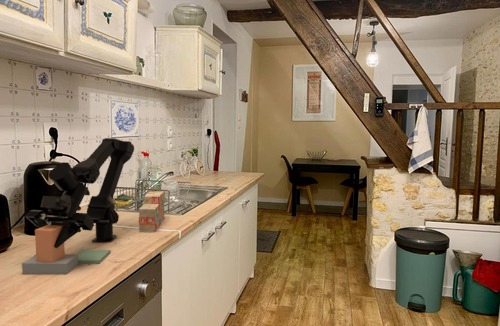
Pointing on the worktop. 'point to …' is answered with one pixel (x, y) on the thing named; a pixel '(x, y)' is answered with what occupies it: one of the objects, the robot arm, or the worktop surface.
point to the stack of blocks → (151, 211)
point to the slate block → (50, 265)
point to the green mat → (92, 256)
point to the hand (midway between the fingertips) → (46, 246)
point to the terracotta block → (48, 244)
